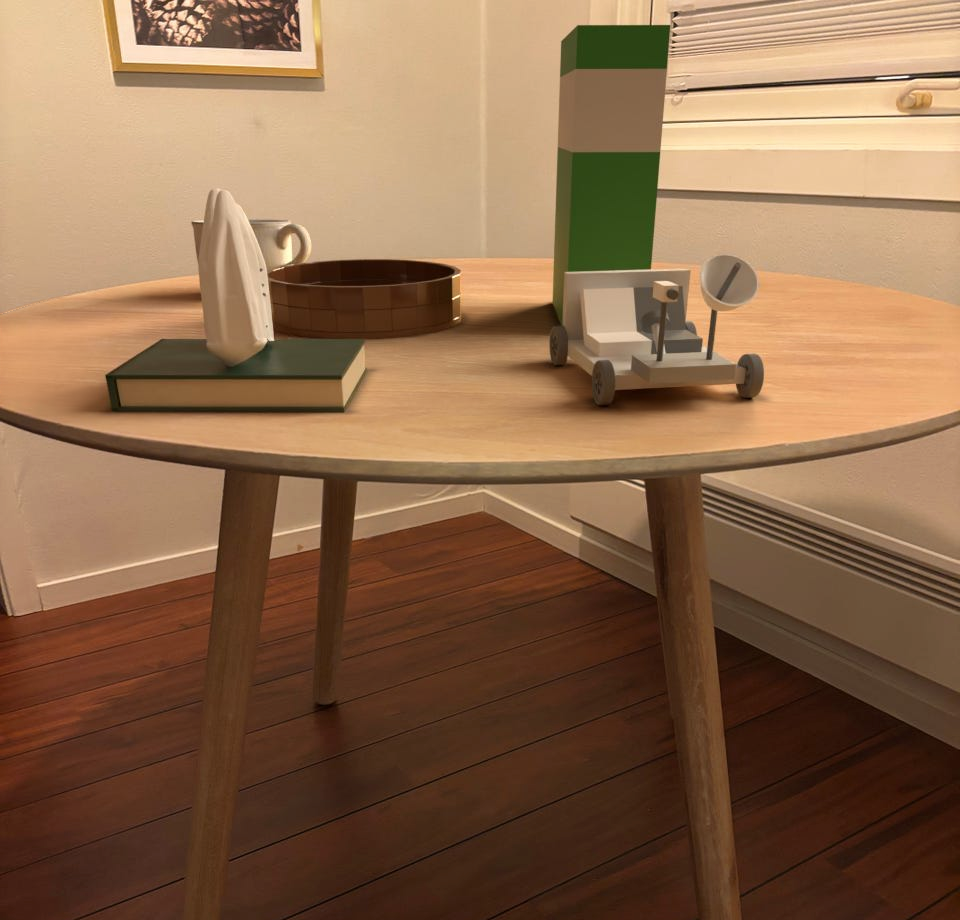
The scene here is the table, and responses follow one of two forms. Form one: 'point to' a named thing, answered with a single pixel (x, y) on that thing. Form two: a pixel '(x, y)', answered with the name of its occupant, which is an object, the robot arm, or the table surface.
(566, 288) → the toy car
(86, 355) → the table surface
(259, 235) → the teacup
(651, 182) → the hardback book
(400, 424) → the table surface
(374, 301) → the bowl
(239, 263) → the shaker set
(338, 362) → the green book
